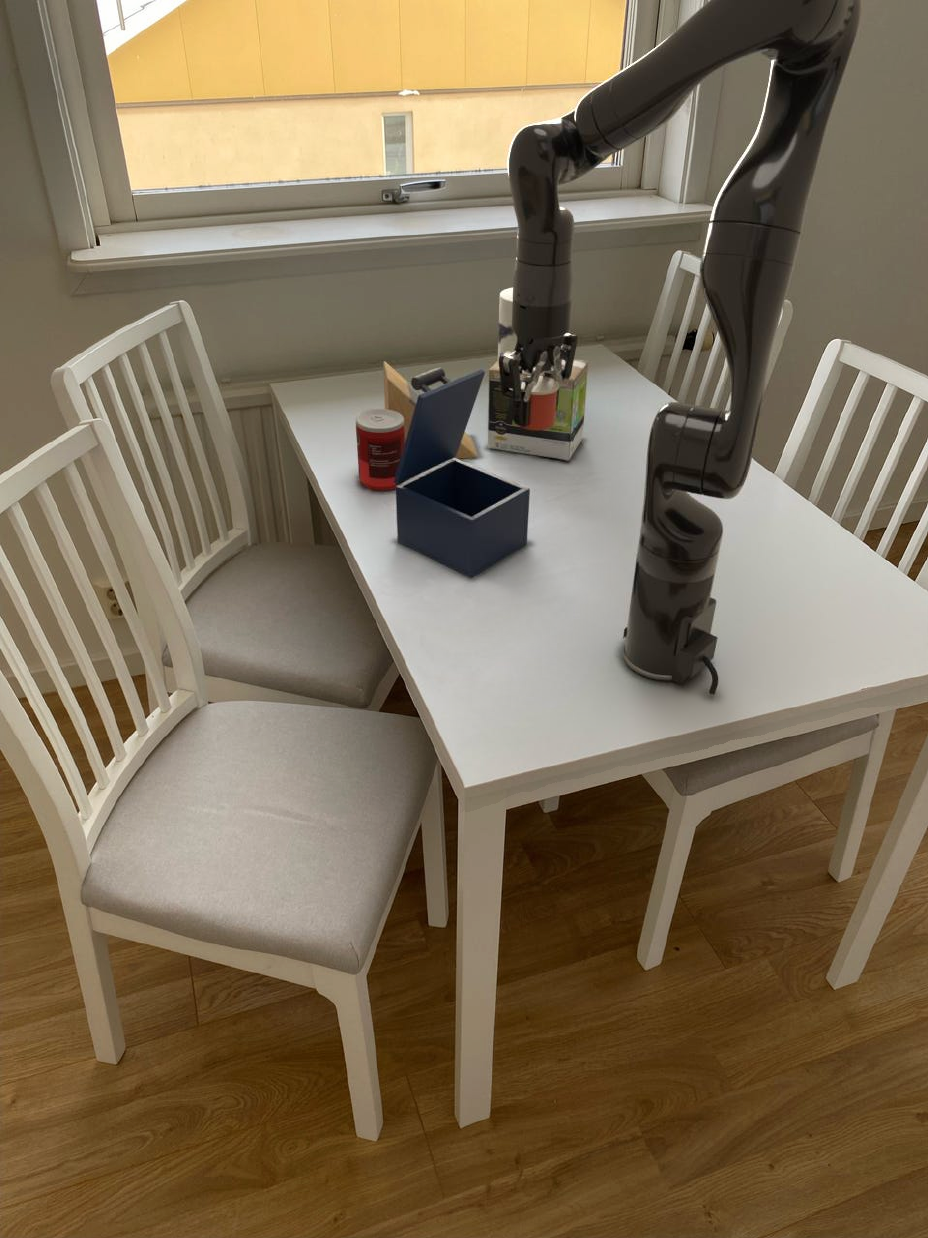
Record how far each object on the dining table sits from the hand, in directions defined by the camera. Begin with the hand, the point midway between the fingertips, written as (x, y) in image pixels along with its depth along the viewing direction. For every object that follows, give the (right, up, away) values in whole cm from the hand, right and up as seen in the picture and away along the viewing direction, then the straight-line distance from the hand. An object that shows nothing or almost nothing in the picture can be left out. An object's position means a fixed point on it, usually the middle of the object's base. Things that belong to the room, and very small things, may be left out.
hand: (535, 417), depth 133 cm
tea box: (+3, +3, +38) cm, 38 cm away
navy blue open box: (-10, -17, +10) cm, 22 cm away
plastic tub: (0, -1, 0) cm, 1 cm away
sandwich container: (-15, +2, +36) cm, 39 cm away
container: (+2, +15, +55) cm, 57 cm away
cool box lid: (-13, -1, +3) cm, 13 cm away
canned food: (-23, -5, +26) cm, 36 cm away
